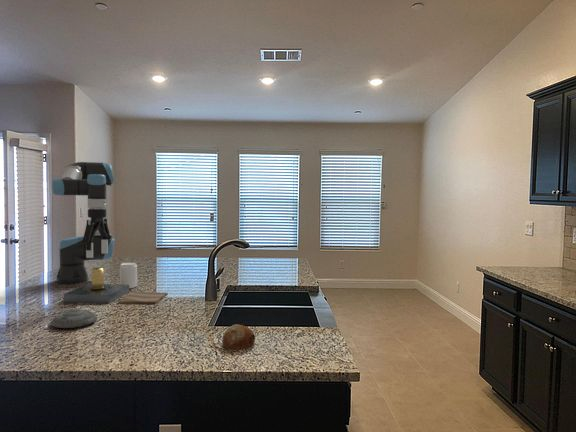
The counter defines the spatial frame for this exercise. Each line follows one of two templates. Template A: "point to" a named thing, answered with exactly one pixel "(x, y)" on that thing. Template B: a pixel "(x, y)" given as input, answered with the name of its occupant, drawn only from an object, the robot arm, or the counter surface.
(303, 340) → the counter surface
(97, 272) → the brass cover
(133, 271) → the white cylinder
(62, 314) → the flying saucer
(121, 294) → the bore block
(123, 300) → the walnut pad
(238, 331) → the bread roll
